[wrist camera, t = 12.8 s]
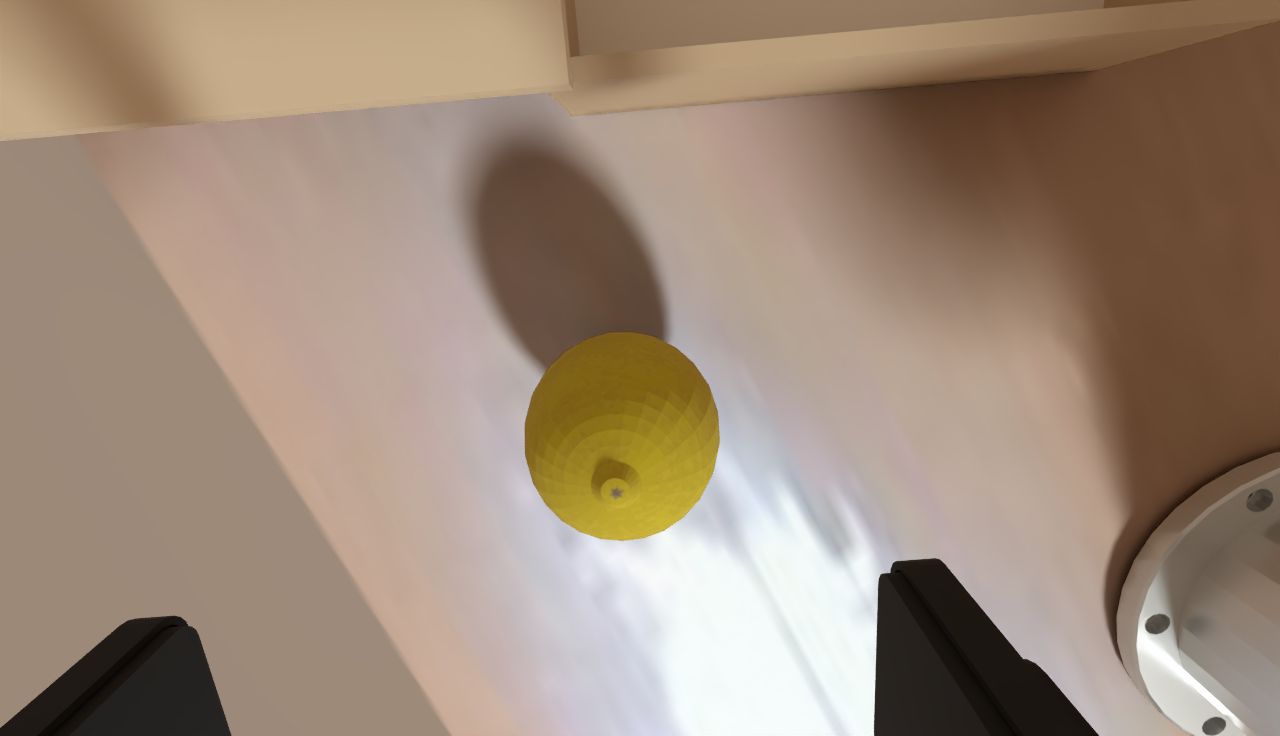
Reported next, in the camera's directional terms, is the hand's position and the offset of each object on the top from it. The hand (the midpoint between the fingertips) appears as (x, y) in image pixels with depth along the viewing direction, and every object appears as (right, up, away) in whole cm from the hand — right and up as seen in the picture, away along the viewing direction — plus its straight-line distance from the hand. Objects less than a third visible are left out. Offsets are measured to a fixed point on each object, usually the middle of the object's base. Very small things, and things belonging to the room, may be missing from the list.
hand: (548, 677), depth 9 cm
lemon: (+1, +4, +14) cm, 14 cm away
